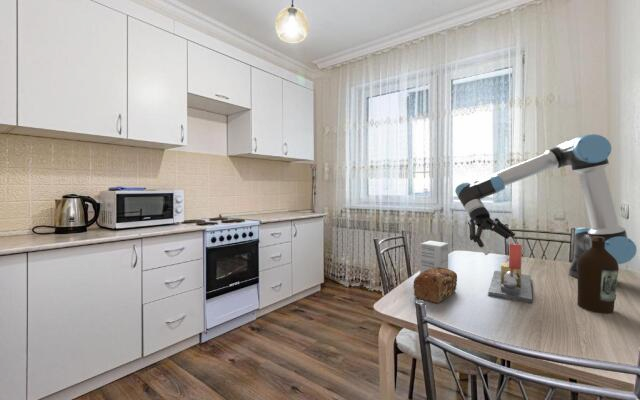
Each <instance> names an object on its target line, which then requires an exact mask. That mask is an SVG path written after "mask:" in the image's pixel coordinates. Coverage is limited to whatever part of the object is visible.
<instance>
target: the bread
mask: <svg viewBox="0 0 640 400" xmlns="http://www.w3.org/2000/svg"><path fill="white" fill-rule="evenodd" d="M457 282H458V275H457V273H456V272H455V271H454V270H451V269H449V268H448V269H445V268H439V267H437V268H430V269H428V270H425V271H424V272H421V273H420V272H419V274H418V275H417V276H416V277H415V278H414V280H413V284H412V285H413V287H412V288H413V290H414V291H413V293H414V297H415V298H417V297H418V299H419V298H421V299H420V300H423V301H426V302H430V303H432V304H433V303H434V304H439V303H441V301H444V300H445V299H447V298H449V297H450V296H451V295H452V294H454V293H455V291H456V290H457V286H458V285H457Z"/></svg>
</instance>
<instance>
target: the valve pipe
mask: <svg viewBox="0 0 640 400" xmlns="http://www.w3.org/2000/svg"><path fill="white" fill-rule="evenodd" d="M500 266H501V267H500V271H499V270H494V272H493V276H492V279H491V281H490V285H489V289H488V293H487V295H488V296H489V297H495V298H502V299H507V300H512V301H517V302H524V303H529V304H532V303H533V294H532V293H533V292H532V283H531V282H532V281H531V275H530V274H523V273H522V268H521V269H512V268H509V261H507V262H501V265H500Z"/></svg>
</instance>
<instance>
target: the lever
mask: <svg viewBox="0 0 640 400" xmlns="http://www.w3.org/2000/svg"><path fill="white" fill-rule="evenodd" d="M508 252H509V253H508V254H509V255H508V257H507V259H506V261H507V262H509V268H512V269H521V270H522V255H523V254H522V253H523V244H519V243H516V244H510V246H509V251H508Z"/></svg>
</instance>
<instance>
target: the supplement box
mask: <svg viewBox="0 0 640 400" xmlns="http://www.w3.org/2000/svg"><path fill="white" fill-rule="evenodd" d="M419 252H420V255H419V257H420V258H419V260H420V261H419V263H420V264H419V274H420V273H421V272H424V271H425V270H428V269H430V268H437V267H439V268H445V269H449V242H444V241H443V242H442V241H435V240H428V241H424V242H421V243H420V251H419Z"/></svg>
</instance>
